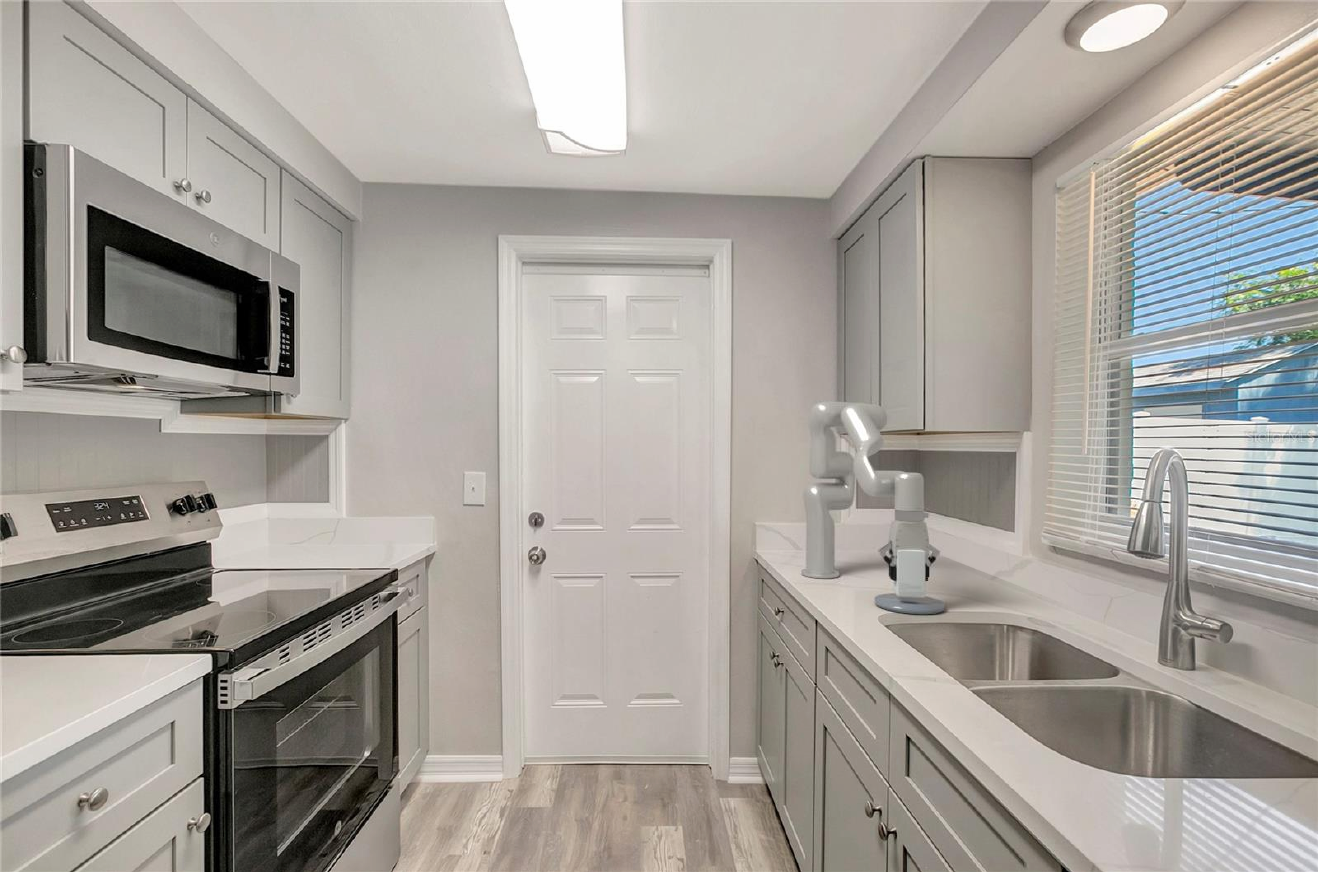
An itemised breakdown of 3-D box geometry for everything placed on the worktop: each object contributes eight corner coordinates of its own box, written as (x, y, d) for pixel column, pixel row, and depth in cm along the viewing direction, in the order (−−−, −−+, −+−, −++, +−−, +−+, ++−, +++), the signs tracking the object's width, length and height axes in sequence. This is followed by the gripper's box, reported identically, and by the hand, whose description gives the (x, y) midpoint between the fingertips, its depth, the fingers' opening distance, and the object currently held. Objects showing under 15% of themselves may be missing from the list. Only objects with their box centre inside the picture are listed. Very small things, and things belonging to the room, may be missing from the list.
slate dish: (865, 598, 182) (865, 593, 182) (927, 598, 182) (927, 593, 182) (888, 615, 164) (888, 609, 164) (956, 615, 164) (956, 609, 164)
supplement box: (926, 598, 169) (926, 551, 169) (897, 596, 171) (897, 550, 171) (920, 591, 176) (920, 547, 176) (892, 590, 178) (892, 546, 178)
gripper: (934, 515, 178) (934, 577, 177) (873, 515, 178) (873, 576, 177) (946, 518, 170) (946, 583, 170) (882, 518, 170) (882, 582, 170)
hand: (908, 579), depth 174 cm, fingers closed on supplement box, 8 cm apart
